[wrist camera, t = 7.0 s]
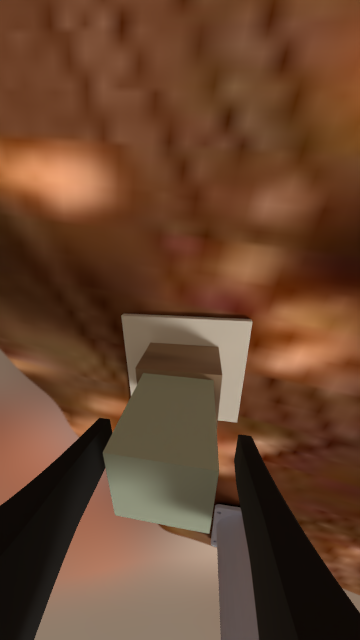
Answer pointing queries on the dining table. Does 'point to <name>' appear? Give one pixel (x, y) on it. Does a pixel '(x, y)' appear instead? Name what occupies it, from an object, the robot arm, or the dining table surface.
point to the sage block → (166, 453)
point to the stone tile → (194, 331)
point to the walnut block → (183, 364)
